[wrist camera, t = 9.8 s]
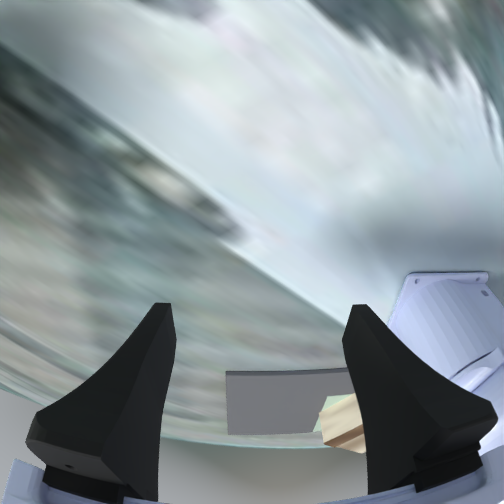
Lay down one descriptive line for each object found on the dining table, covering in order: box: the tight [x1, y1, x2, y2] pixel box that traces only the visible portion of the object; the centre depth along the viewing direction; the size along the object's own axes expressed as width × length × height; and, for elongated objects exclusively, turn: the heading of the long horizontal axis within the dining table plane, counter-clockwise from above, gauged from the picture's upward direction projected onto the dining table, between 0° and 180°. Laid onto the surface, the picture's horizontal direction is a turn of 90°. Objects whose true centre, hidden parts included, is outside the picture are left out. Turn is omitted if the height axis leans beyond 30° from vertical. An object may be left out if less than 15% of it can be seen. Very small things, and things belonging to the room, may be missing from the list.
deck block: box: [319, 393, 366, 453], centre depth 31 cm, size 8×5×4 cm, turn 47°
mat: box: [226, 368, 355, 435], centre depth 32 cm, size 20×13×1 cm, turn 88°
